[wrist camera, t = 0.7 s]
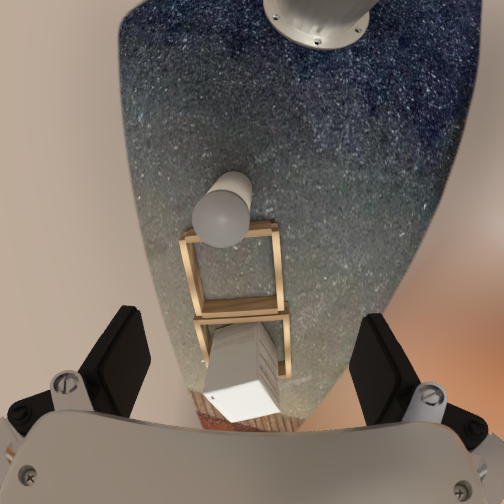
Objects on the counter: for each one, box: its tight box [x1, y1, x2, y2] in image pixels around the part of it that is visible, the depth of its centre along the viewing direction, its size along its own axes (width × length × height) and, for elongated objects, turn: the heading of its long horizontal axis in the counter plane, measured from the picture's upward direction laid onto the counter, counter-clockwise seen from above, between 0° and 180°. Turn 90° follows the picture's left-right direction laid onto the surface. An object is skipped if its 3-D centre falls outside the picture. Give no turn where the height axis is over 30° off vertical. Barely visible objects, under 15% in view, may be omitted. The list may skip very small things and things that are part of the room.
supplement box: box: [203, 321, 281, 422], centre depth 37 cm, size 7×7×13 cm
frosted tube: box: [192, 171, 252, 248], centre depth 28 cm, size 5×5×12 cm
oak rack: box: [179, 220, 291, 379], centre depth 39 cm, size 25×13×3 cm, turn 6°
